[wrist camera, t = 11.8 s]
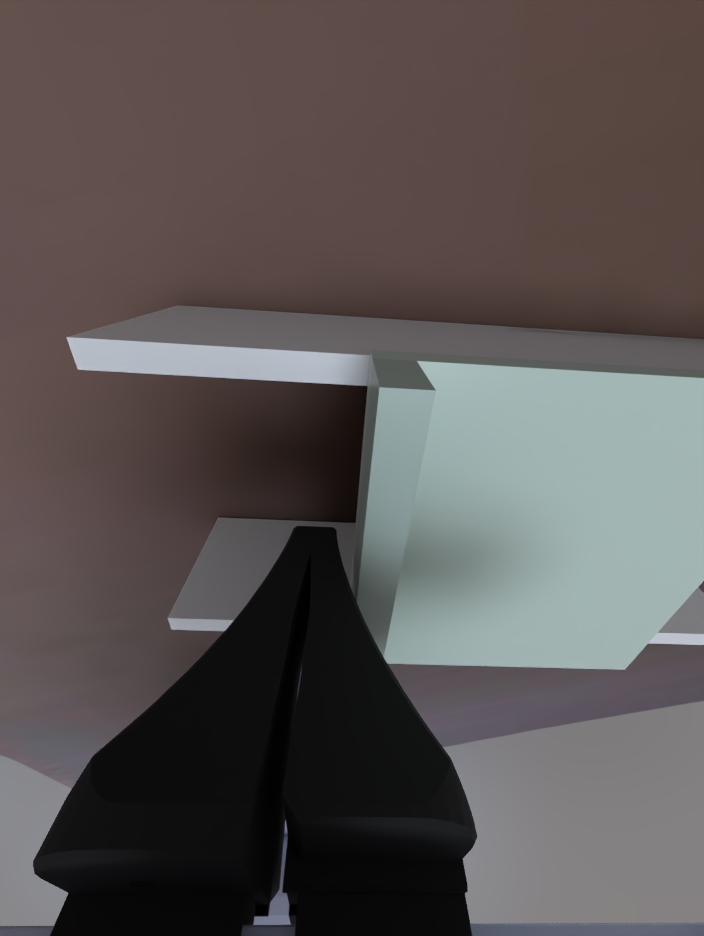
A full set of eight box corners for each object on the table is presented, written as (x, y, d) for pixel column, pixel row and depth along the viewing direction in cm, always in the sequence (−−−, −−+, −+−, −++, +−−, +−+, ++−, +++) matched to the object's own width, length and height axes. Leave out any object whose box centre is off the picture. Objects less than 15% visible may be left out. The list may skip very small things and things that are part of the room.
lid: (612, 651, 15) (660, 723, 13) (345, 643, 15) (344, 717, 12) (834, 378, 9) (1014, 423, 6) (370, 350, 8) (379, 387, 6)
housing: (635, 544, 21) (736, 645, 16) (219, 527, 20) (171, 629, 15) (772, 343, 15) (1021, 394, 9) (178, 305, 14) (66, 336, 8)
